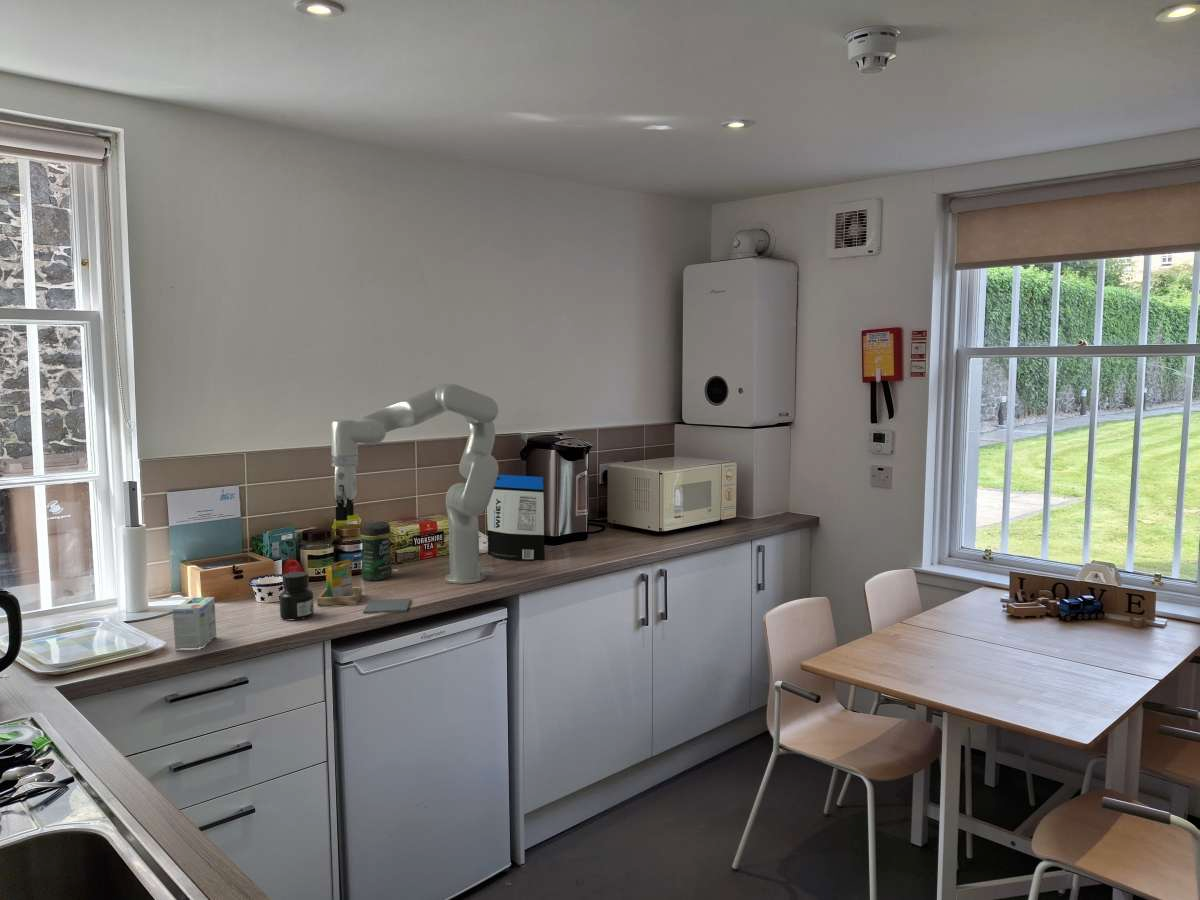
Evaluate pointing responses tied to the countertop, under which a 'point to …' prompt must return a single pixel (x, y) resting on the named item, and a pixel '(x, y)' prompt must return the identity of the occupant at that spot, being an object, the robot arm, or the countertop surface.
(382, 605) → the mat
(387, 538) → the coffee jar
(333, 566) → the crayon box
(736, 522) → the countertop surface
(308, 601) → the ink bottle
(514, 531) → the protein powder
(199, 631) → the light bulb box
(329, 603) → the tray
